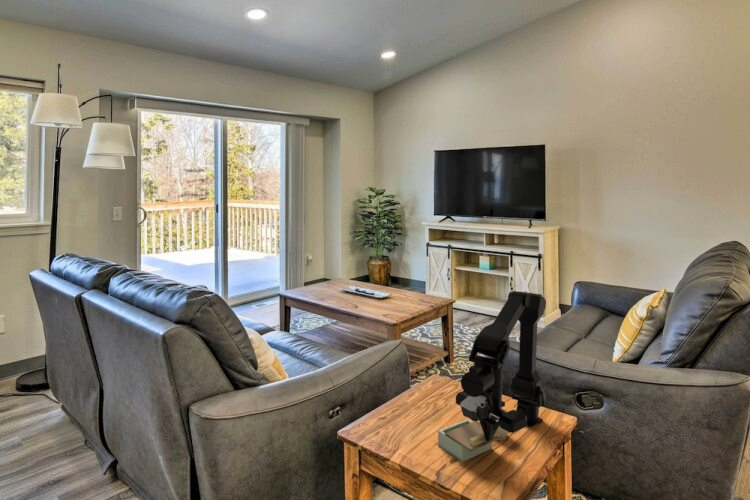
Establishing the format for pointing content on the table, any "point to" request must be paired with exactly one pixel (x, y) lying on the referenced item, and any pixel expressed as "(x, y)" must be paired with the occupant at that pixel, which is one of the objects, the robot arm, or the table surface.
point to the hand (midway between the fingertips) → (488, 440)
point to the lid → (471, 436)
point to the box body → (454, 447)
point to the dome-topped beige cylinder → (502, 433)
